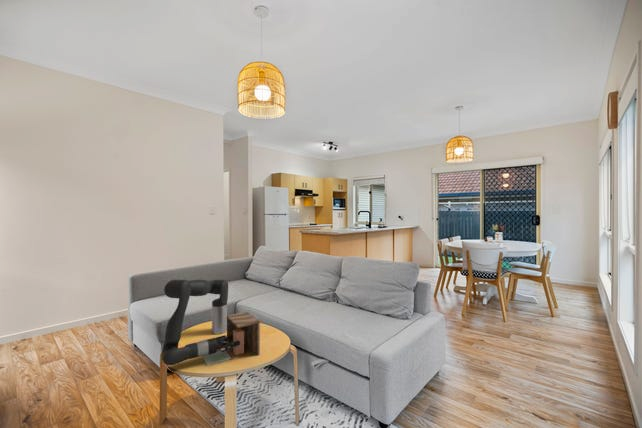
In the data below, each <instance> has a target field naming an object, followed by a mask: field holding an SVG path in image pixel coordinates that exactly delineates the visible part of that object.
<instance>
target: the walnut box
mask: <svg viewBox="0 0 642 428" xmlns="http://www.w3.org/2000/svg"><path fill="white" fill-rule="evenodd" d="M260 322H261V321H260V320H259V319H257V318H256V317H255V316H254V315H252V314H251V313H249V312H248V311H243V312H239V313H232V314H227V331H226V336H228V337H229V336H233V330H236V329H242V330H243V331H244V345H245V344H246V345H247V346H248V347H249V348H250V349H251V350H252V351H253V352H254V353H255V354H256V355H257V356H260V354H261V353H260V351H261V350H260V344H261V343H260V341H261V339H260V337H261V336H260V335H261V329H260V328H261V326H260V325H261V323H260ZM229 342H233V340H231V341H229Z"/></svg>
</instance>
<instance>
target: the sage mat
mask: <svg viewBox="0 0 642 428" xmlns="http://www.w3.org/2000/svg"><path fill="white" fill-rule="evenodd" d="M202 359H203V360H204V362H205V365H206V366H210V365H211V366H212V365H215V364H218V363H222V362H226V361H228V360H232V357H231V355H230V354H229V353H228V351H224V352H221V350H219V351H218V350H217V352H216V353H214V354H210V355H206V356H202Z"/></svg>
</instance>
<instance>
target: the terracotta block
mask: <svg viewBox="0 0 642 428" xmlns="http://www.w3.org/2000/svg"><path fill="white" fill-rule="evenodd" d="M236 341H240V345H239V346H235V347H233V349H232V353H233V354H234V355H235V356H238V355H242V354H244V353H245V344H244V331H243V330H242V329H236V330H233V342H236Z"/></svg>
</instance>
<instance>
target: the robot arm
mask: <svg viewBox="0 0 642 428" xmlns="http://www.w3.org/2000/svg"><path fill="white" fill-rule="evenodd" d="M163 291H164V295H166V297H168V298H170V299H178V303H177V306H176V308H175V310H174V312H173V314H172V315H171V317H169V320H168V321H167V324H166V327H165V335H164V343H163V346H162V352H161V359H162V362H163V364H164V365H165V366H174V365H177V364H180V363H182V362H185V361H187V360H191V359H196V358H201V357H202V356H206V355H210V354H214V353H216V352H218V350H220V351H221V352H224V351H226V352H228V351H231V350H232V351H233V347H235V346H239V345H240V341H236V342H229V341H231V340H233V336H229V337H228V336H227V334H226V335H220V334H224V333H227V315H228V298H229V282H228V280H226V279H212V280H207V279H194V280H188V279H171V280H169V281H167V283H166V284H165V286H164V288H163ZM208 294H211V295H219V297H218V298H215V299H213V300H212V301H211V333H212V334H215V335H219V336H216V337H211V338H208V339H204V340H203V339H202V340H199V341H196V342H192V343H188V344H186V345H184V346H182V347H179V343H180V340H181V337H182V330H183V324H184V319H185V318H184V317H185V315H186V311H187V307H188V305H189V300H190V297H203V296H207V295H208ZM202 358H203V357H202Z"/></svg>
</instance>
